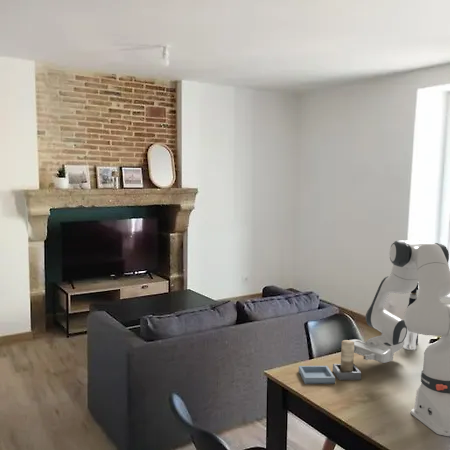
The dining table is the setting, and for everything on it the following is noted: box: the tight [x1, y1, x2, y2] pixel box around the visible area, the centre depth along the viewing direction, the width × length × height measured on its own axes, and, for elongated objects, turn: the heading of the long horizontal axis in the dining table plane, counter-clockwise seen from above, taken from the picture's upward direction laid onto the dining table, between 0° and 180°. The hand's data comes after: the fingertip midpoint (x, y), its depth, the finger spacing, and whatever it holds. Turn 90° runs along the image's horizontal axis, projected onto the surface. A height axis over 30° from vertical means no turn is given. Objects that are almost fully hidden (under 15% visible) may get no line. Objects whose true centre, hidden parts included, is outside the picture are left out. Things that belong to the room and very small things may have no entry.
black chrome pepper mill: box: [407, 282, 419, 345], centre depth 244 cm, size 6×6×30 cm
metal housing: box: [332, 363, 362, 381], centre depth 204 cm, size 9×9×3 cm
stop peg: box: [340, 339, 355, 372], centre depth 203 cm, size 5×5×14 cm
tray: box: [298, 365, 336, 385], centre depth 201 cm, size 12×12×2 cm
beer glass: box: [402, 328, 419, 351], centre depth 236 cm, size 7×7×15 cm
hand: (355, 354), depth 206 cm, fingers open, 8 cm apart
